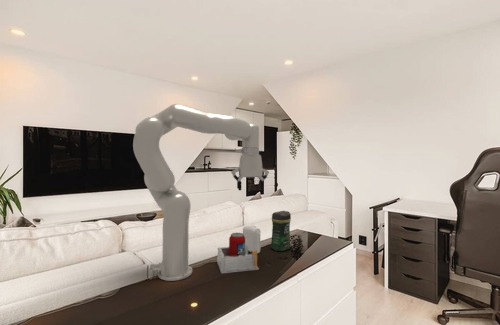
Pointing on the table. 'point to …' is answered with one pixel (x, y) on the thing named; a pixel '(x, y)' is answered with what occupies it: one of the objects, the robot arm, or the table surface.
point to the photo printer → (252, 237)
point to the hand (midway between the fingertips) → (250, 189)
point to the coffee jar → (281, 230)
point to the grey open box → (236, 261)
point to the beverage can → (236, 244)
